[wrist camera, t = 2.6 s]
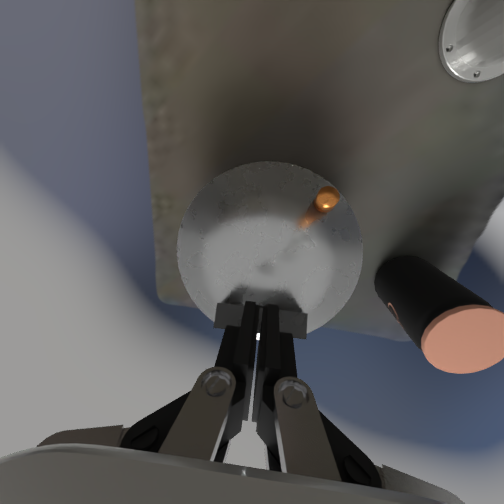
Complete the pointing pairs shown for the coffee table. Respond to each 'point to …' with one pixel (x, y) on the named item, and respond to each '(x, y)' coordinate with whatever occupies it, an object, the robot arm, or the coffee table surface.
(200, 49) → the coffee table surface
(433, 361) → the coffee jar
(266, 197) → the cooker lid
